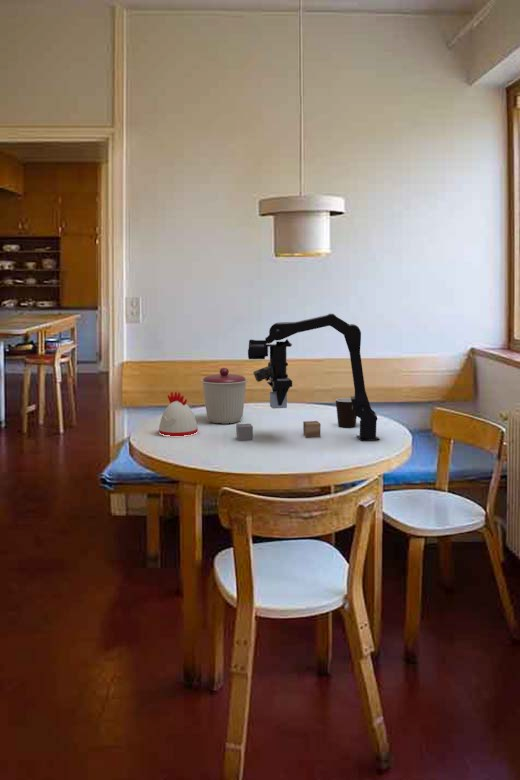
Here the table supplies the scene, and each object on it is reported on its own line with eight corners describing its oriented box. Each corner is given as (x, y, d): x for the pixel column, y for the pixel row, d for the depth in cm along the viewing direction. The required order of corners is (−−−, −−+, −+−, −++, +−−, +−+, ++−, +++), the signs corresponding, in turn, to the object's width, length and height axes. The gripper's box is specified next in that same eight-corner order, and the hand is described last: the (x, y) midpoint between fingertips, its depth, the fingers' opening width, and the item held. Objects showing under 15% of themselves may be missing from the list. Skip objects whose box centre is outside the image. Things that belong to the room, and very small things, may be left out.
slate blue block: (286, 408, 255) (286, 393, 254) (272, 408, 254) (272, 394, 253) (283, 405, 260) (283, 391, 259) (269, 406, 259) (269, 391, 258)
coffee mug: (351, 429, 271) (351, 402, 269) (331, 426, 276) (331, 400, 275) (366, 424, 280) (366, 398, 279) (346, 421, 285) (347, 396, 284)
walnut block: (320, 437, 259) (320, 423, 258) (306, 438, 258) (306, 424, 257) (316, 434, 263) (317, 420, 263) (303, 435, 263) (303, 421, 262)
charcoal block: (252, 440, 255) (252, 426, 254) (238, 441, 254) (238, 427, 253) (250, 437, 260) (250, 423, 259) (236, 438, 259) (236, 424, 258)
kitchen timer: (175, 427, 277) (173, 388, 275) (205, 431, 270) (204, 390, 268) (151, 434, 265) (150, 393, 263) (182, 438, 258) (181, 396, 256)
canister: (247, 416, 297) (247, 364, 293) (248, 426, 279) (248, 370, 275) (202, 417, 296) (201, 365, 293) (200, 426, 278) (199, 371, 275)
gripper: (250, 357, 262) (251, 400, 265) (259, 363, 244) (260, 409, 246) (281, 356, 264) (281, 399, 266) (292, 362, 246) (292, 408, 248)
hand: (278, 404), depth 257 cm, fingers closed on slate blue block, 5 cm apart
